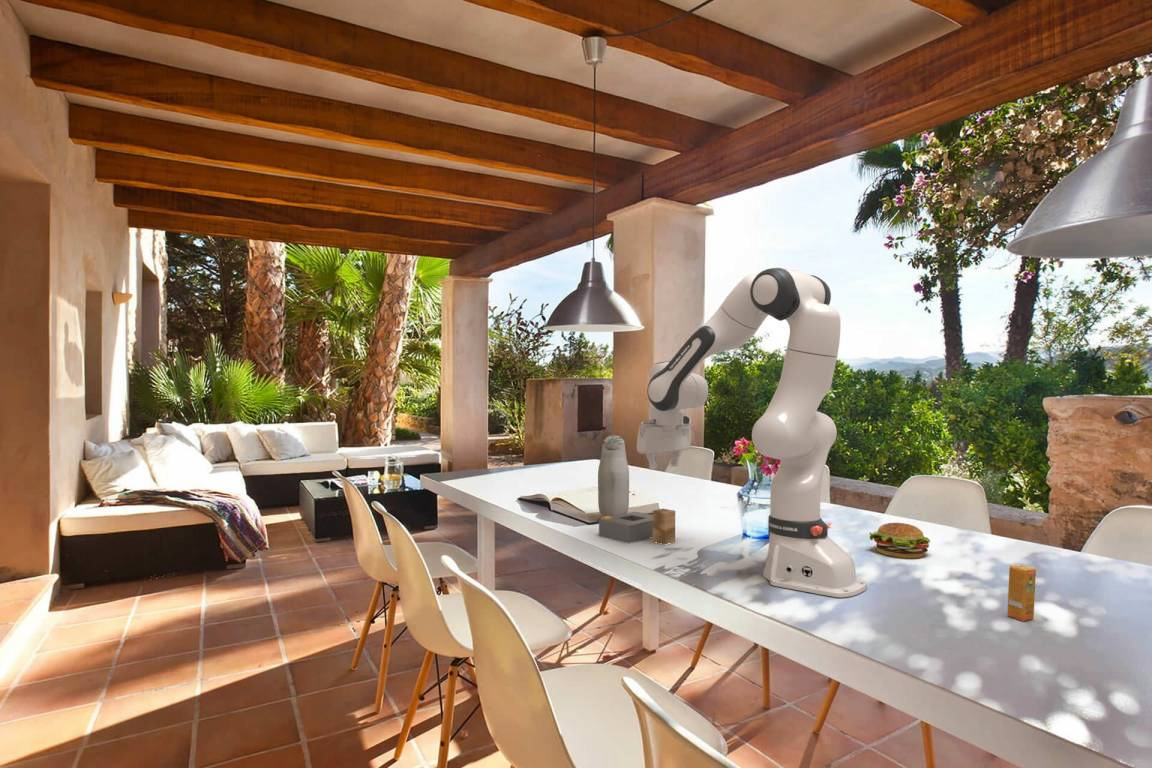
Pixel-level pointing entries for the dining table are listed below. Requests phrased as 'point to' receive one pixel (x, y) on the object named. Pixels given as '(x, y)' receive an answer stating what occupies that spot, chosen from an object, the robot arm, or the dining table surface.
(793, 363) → the robot arm
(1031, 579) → the supplement box
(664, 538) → the oak peg
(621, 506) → the gray bottle
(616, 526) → the socket block
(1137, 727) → the dining table surface
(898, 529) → the food
